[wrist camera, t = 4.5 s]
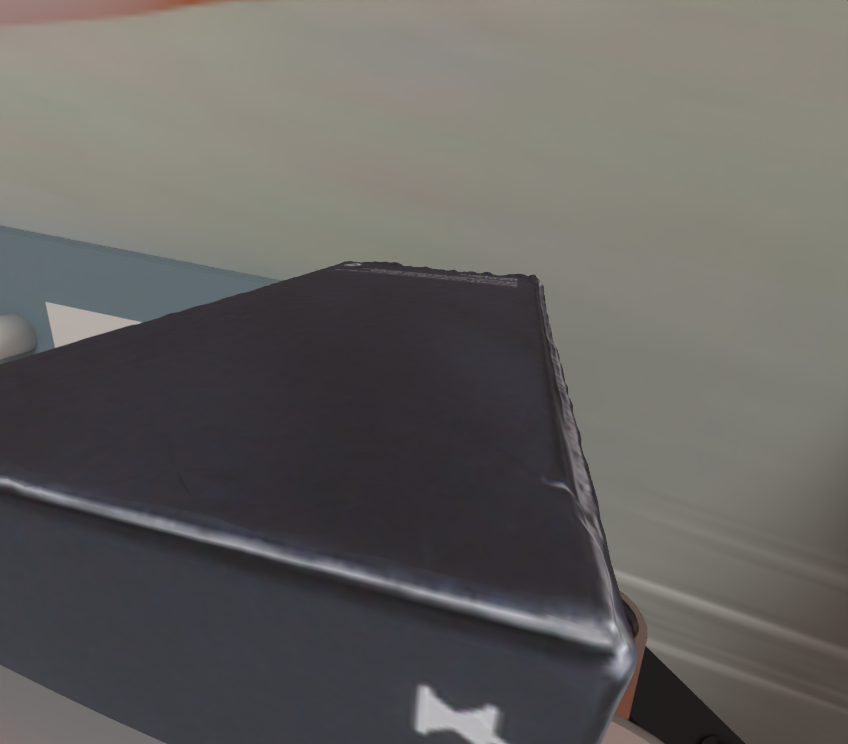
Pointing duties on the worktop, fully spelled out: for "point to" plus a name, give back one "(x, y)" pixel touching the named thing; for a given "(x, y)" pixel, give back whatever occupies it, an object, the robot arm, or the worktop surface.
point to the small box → (314, 520)
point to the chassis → (94, 290)
